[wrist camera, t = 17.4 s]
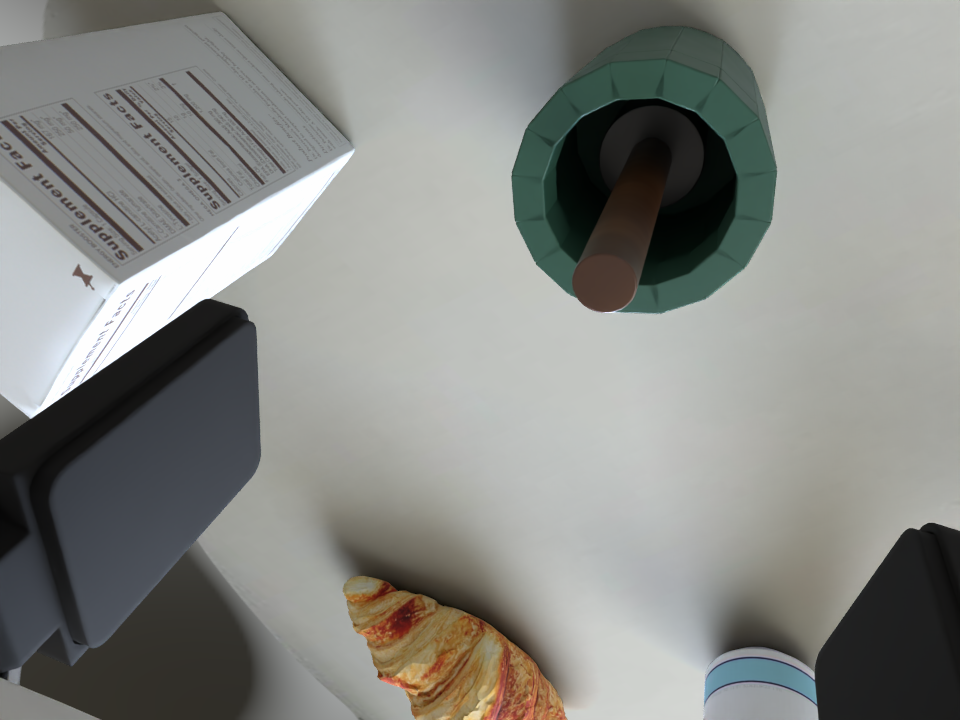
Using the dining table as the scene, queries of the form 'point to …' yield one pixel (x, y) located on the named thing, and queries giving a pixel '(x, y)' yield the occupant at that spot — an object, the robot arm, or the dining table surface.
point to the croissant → (447, 658)
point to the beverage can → (759, 687)
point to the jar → (679, 227)
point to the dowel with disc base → (637, 195)
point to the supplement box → (140, 187)
